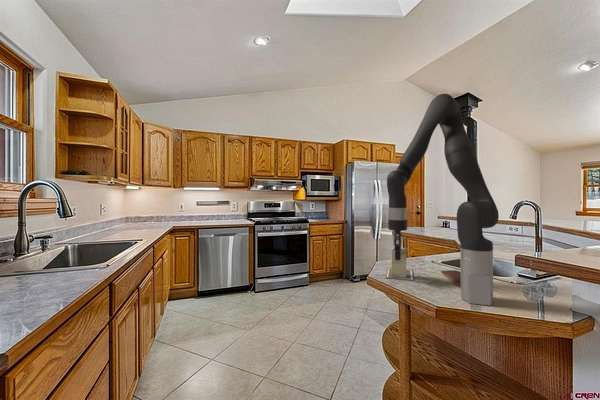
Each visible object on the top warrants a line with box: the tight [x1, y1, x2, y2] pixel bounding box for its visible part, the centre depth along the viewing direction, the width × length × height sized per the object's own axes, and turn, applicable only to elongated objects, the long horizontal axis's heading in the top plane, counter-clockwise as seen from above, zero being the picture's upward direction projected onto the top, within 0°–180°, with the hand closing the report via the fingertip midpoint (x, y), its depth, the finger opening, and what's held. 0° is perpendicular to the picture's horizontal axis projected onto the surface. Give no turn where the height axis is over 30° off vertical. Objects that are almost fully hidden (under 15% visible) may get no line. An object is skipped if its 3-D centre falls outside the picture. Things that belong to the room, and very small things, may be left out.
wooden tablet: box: [440, 270, 461, 289], centre depth 117 cm, size 26×2×10 cm
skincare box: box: [390, 246, 407, 278], centre depth 120 cm, size 6×4×12 cm
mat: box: [385, 268, 415, 282], centre depth 123 cm, size 16×11×1 cm
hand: (397, 259), depth 115 cm, fingers closed
